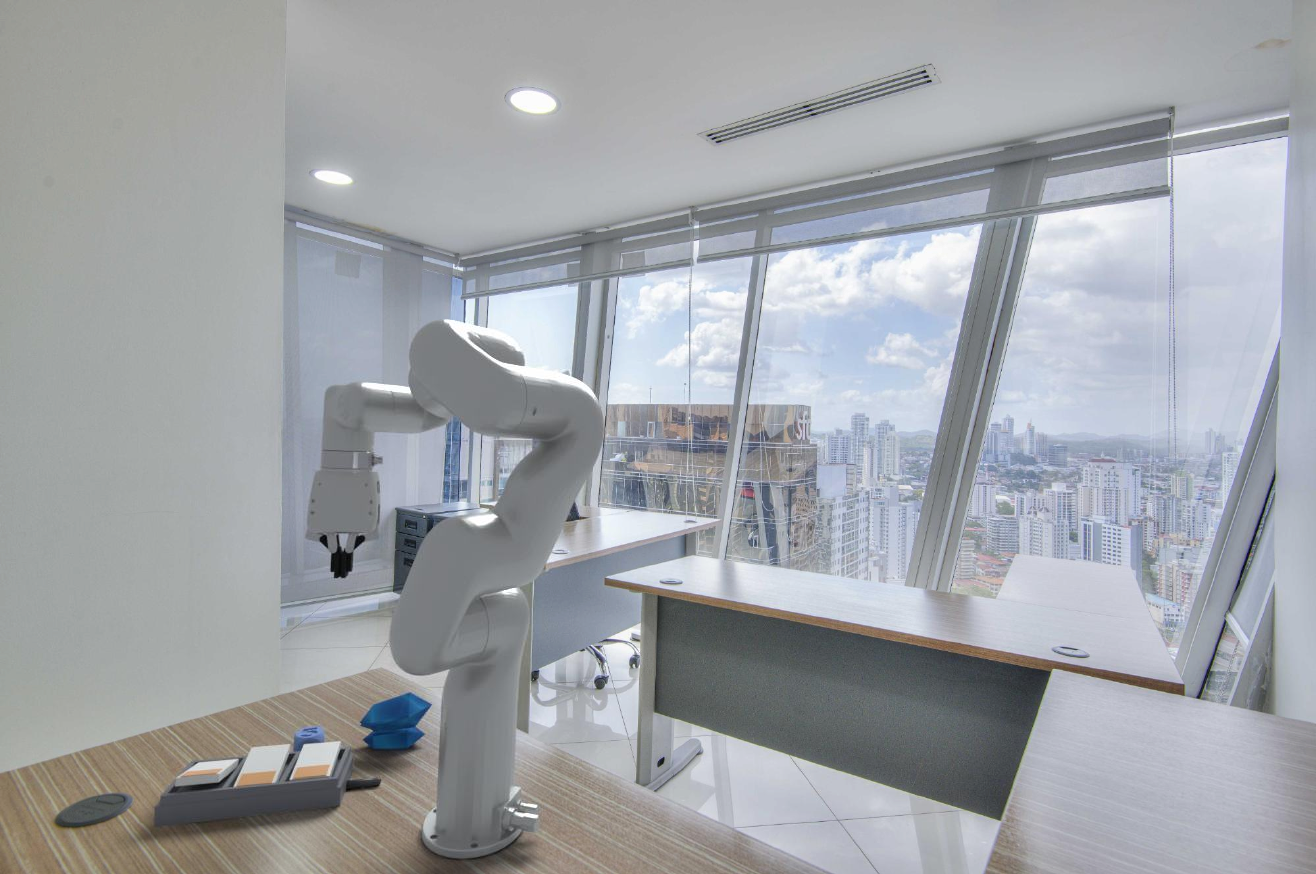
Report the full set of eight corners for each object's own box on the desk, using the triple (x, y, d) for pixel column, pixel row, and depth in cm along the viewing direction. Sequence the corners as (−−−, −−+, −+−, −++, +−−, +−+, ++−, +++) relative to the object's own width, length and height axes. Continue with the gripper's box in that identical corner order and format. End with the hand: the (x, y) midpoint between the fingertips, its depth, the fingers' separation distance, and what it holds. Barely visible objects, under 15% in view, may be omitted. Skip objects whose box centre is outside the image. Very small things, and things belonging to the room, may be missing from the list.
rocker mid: (290, 750, 88) (290, 743, 87) (275, 790, 81) (274, 782, 81) (252, 754, 86) (251, 746, 86) (233, 795, 80) (232, 787, 80)
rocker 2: (340, 748, 90) (340, 740, 89) (329, 783, 83) (329, 775, 83) (304, 751, 88) (303, 743, 88) (289, 787, 82) (289, 779, 82)
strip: (385, 768, 92) (386, 743, 92) (376, 802, 84) (377, 774, 84) (186, 787, 85) (188, 760, 85) (153, 826, 76) (155, 796, 77)
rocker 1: (237, 768, 86) (238, 757, 86) (218, 783, 79) (219, 772, 80) (197, 771, 85) (198, 761, 85) (174, 788, 78) (176, 776, 78)
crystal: (359, 695, 102) (434, 677, 104) (369, 746, 102) (444, 727, 104) (345, 715, 94) (425, 695, 96) (356, 770, 94) (436, 749, 97)
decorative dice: (323, 749, 97) (324, 724, 97) (322, 761, 94) (324, 735, 94) (294, 754, 95) (295, 728, 95) (292, 766, 92) (293, 739, 92)
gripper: (400, 463, 105) (394, 571, 104) (301, 459, 100) (295, 572, 100) (394, 464, 97) (388, 580, 97) (288, 461, 93) (281, 582, 93)
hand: (341, 576), depth 98 cm, fingers closed
